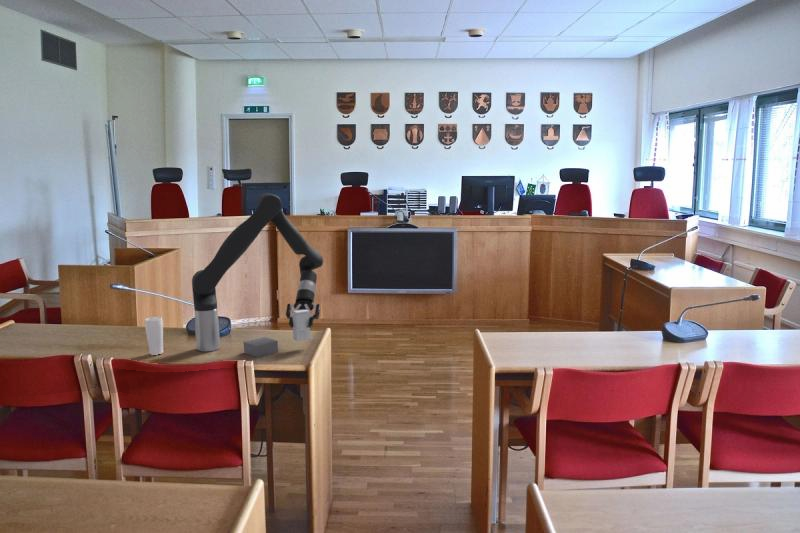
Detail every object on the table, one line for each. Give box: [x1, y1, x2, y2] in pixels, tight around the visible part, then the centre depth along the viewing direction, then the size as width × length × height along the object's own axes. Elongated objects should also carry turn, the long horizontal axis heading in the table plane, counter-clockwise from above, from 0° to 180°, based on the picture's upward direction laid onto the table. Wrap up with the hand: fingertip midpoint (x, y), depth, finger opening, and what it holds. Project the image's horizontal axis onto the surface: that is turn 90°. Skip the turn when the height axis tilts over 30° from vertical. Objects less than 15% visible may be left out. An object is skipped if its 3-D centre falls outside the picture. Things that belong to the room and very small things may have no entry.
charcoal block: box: [243, 336, 279, 358], centre depth 268 cm, size 10×10×5 cm
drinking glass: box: [144, 316, 164, 356], centre depth 268 cm, size 7×7×15 cm
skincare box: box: [291, 309, 311, 342], centre depth 270 cm, size 6×4×12 cm
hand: (300, 326), depth 268 cm, fingers closed on skincare box, 7 cm apart
